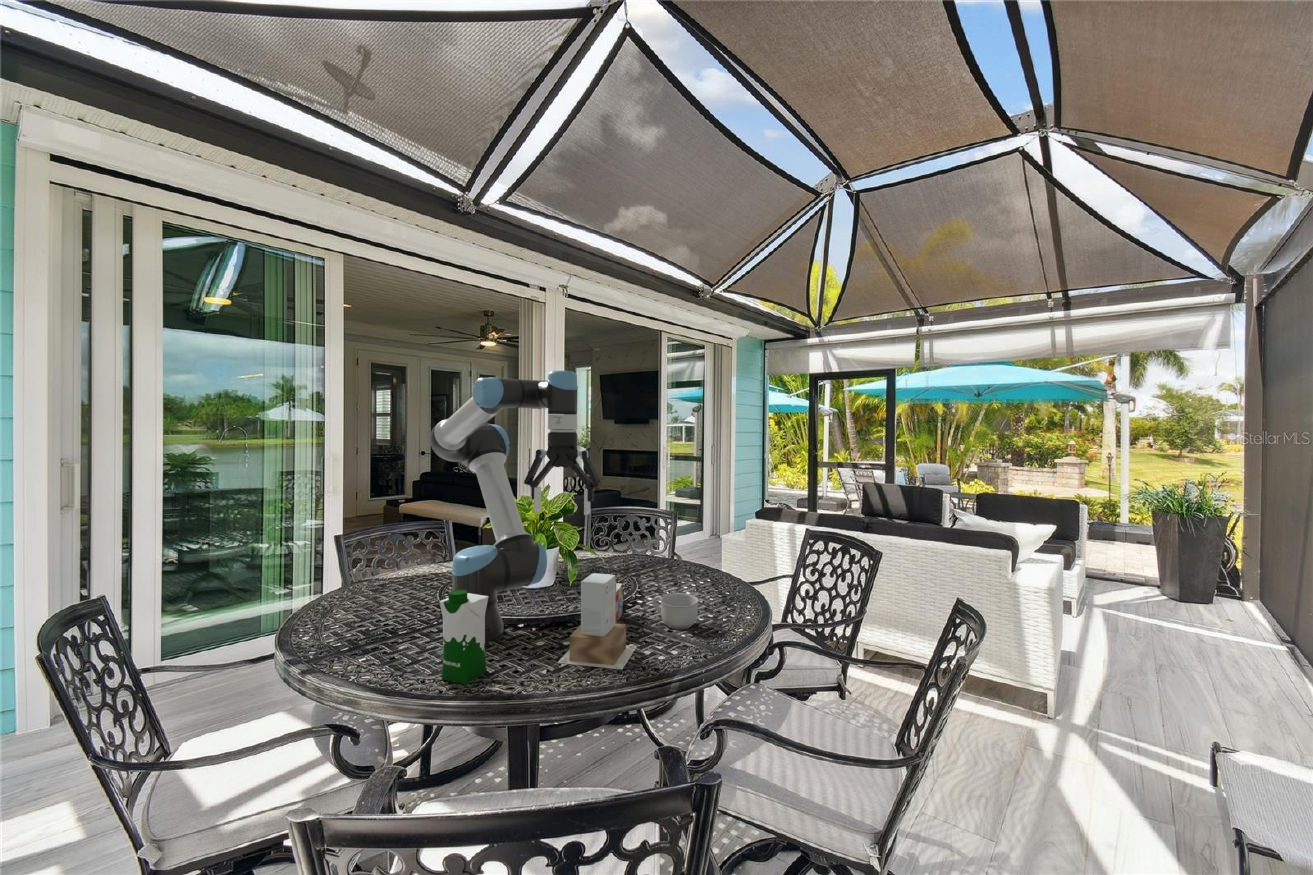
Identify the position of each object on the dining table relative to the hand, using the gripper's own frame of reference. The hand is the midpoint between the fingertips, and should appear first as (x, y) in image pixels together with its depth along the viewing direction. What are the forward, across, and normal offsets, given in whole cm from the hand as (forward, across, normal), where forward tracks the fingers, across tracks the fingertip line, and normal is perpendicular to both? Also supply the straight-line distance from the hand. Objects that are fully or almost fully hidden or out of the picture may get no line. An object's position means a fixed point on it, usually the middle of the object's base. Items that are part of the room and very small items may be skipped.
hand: (562, 513), depth 151 cm
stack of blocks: (+35, +6, +18) cm, 40 cm away
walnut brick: (+34, +12, -6) cm, 36 cm away
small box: (+28, +12, -6) cm, 31 cm away
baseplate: (+35, +12, -6) cm, 37 cm away
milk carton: (+35, -15, -22) cm, 44 cm away
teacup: (+35, +26, +22) cm, 49 cm away
